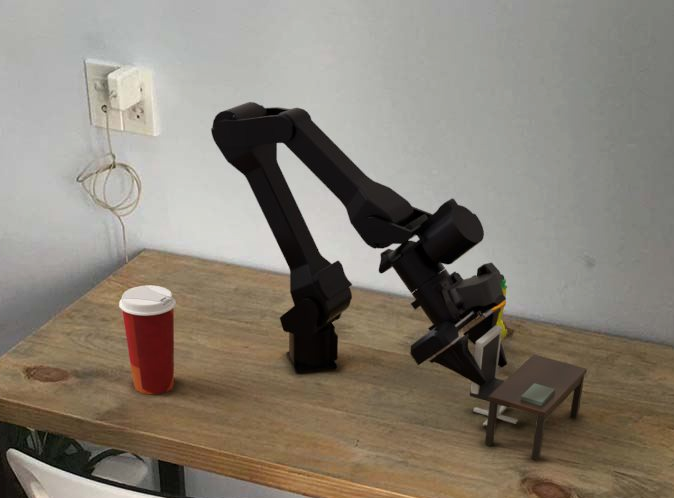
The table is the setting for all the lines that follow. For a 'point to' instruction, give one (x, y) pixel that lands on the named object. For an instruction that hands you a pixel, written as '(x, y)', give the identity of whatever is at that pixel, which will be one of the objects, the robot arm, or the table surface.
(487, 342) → the white black boxy frame
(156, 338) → the paper cup
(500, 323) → the toy figure
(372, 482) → the table surface
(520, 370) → the desk
